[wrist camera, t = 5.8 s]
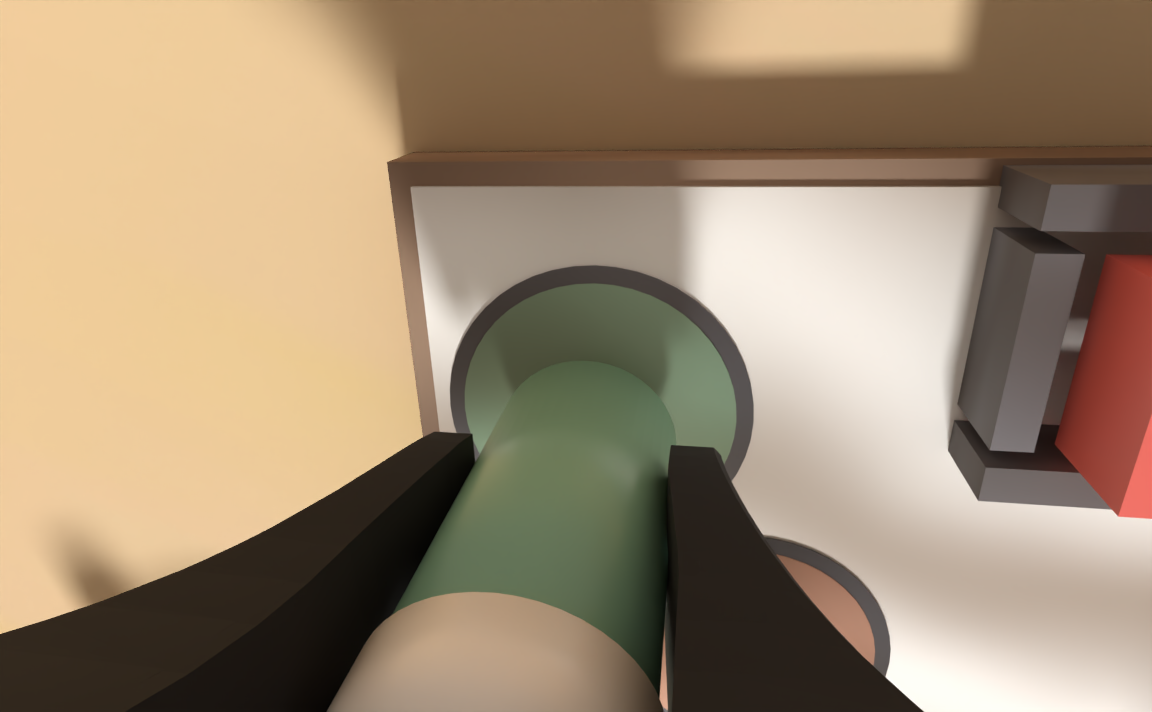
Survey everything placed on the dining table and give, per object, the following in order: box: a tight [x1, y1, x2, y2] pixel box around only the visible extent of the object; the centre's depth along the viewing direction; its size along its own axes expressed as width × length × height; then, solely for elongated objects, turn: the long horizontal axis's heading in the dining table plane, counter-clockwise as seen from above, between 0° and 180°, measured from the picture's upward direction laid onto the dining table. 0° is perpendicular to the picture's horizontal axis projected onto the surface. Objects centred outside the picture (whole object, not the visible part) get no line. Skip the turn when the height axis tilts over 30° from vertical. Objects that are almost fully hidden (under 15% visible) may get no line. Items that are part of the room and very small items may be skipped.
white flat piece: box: [387, 146, 1152, 712], centre depth 13 cm, size 13×15×3 cm
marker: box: [327, 361, 676, 712], centre depth 9 cm, size 3×3×7 cm
